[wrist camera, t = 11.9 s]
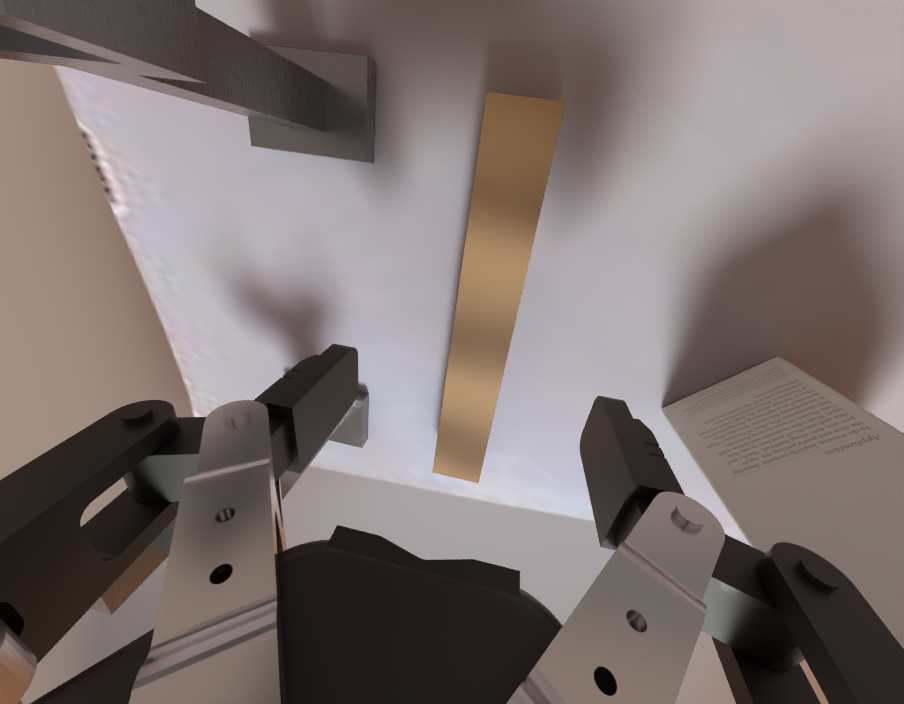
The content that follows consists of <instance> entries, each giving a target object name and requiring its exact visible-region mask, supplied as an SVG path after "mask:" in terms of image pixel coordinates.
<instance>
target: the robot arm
mask: <svg viewBox="0 0 904 704" xmlns="http://www.w3.org/2000/svg"><path fill="white" fill-rule="evenodd" d="M357 392H358V352H357V349H356V348H353V347H348V346H343V345H338V344H332V345H331V346H330V347H329V348H328V349H326V350H325V351H324V352H323V353H322V354H321V355H320V356H319V355H314V356H312V357H309V358H307V359H305V360H302V361H301V362H299V363H298V364H297V365H296V366H295V367H293V368H292V369H291V371H289V372H287V373H286V374H285V375H284V376H283V378H280V379H279V380H278V381H276V382H275V383H274V384H273V385H272V386H270V387H269V388H268V389H267V390H266V391H264V392H263V393H262V394H261V395H260V396H258V397H257V398H256V399H255V400H253V401H252V400H242V401H235V402H231V403H228V404H225V405H222V406H220V407H218V408H217V409H215V410H213V411H212V412H211V413H210V414H209V415H208V416H207V417H189V418H188V417H185V418H177V416H176V413H175V410H174V407H173V405H172V404H170V403H169V402H166V401H161V400H146V401H140V402H136V403H132V404H129V405H126V406H123V407H121V408H119V409H116V410H115V411H113V412H111V413H109V414H108V415H106V416H105V417H103V418H101V419H100V420H98V421H96V422H95V423H93V424H91V425H90V426H88V427H86V428H85V429H83V430H82V431H80V432H78V433H77V434H75V435H73V436H72V437H70V438H68V439H67V440H65V441H64V442H62V443H60V444H59V445H57V446H55V447H54V448H52V449H51V450H49V451H47V452H46V453H44V454H42V455H41V456H39V457H37V458H36V459H34V460H32V461H31V462H29V463H28V464H26V465H24V466H23V467H21V468H19V469H18V470H16V471H14V472H13V473H11V474H10V475H8V476H6V477H5V478H3V479H1V480H0V704H22V700H21V698H22V697H23V695H24V693H25V692H26V690H27V689H28V687H29V685H30V684H31V682H32V679H33V677H34V674H35V671H36V666H37V664H38V663H39V662H40V661H41V659H42V658H43V657H44V656H45V655H46V654H47V653H48V652H49V651H50V650H51V649H52V648H53V646H55V644H57V642H58V641H59V640H60V639H61V638H62V637H63V636H64V635H65V634H66V633H67V632H68V631H69V630H70V629H71V628H72V627H73V625H74V624H75V623H76V622H77V621H78V620H79V619H80V618H81V617H82V616H83V615H84V614H85V613H86V612H87V611H88V610H89V609H90V607H91V606H92V605H93V604H94V603H95V602H96V601H97V600H98V599H99V598H100V597H101V596H102V595H103V594H104V593H105V592H106V591H107V589H108V588H109V587H110V586H111V585H112V584H113V583H114V582H115V581H116V580H117V579H118V578H119V577H120V576H121V575H122V574H123V573H124V571H125V570H126V569H127V568H128V567H129V566H130V565H131V564H132V563H133V562H134V561H135V560H136V559H137V558H138V557H139V556H140V554H141V553H142V552H143V551H144V550H145V549H146V548H147V547H148V546H149V545H150V544H151V543H152V542H153V541H154V540H155V539H156V538H157V536H158V535H159V534H160V533H161V532H162V531H163V530H164V529H165V528H166V527H167V526H168V525H169V524H170V523H171V522H172V521H173V519H174V518H175V517H176V516H177V517H176V522H175V527H174V532H173V537H172V542H171V547H170V552H169V557H168V563H167V567H166V573H165V578H164V583H163V588H162V593H161V598H160V603H159V608H158V613H157V618H156V623H155V628H154V629H152V630H151V631H149V632H147V633H146V634H144V635H143V636H141V637H139V638H138V639H136V640H134V641H132V642H131V643H129V644H128V645H126V646H124V647H123V648H121V649H119V650H118V651H116V652H114V653H113V654H111V655H110V656H108V657H106V658H105V659H103V660H101V661H100V662H98V663H96V664H95V665H93V666H91V667H90V668H88V669H87V670H85V671H83V672H81V673H80V674H78V675H77V676H75V677H73V678H71V679H70V680H68V681H67V682H65V683H63V684H62V685H60V686H58V687H57V688H56V689H53V690H52V691H50V692H48V693H47V694H45V695H43V696H42V697H40V698H38V699H37V700H35V701H34V702H32V703H30V704H675V701H676V698H677V696H678V693H679V690H680V687H681V684H682V681H683V679H684V675H685V673H686V670H687V667H688V665H689V662H690V659H691V656H692V653H693V650H694V648H695V645H696V642H697V639H698V636H699V633H700V631H701V630H702V631H704V632H706V633H707V634H709V635H711V636H712V639H713V642H714V645H715V647H716V650H717V653H718V655H719V658H720V661H721V663H722V666H723V669H724V672H725V675H726V677H727V680H728V683H729V686H730V688H731V691H732V694H733V696H734V699H735V702H736V704H820V702H819V700H818V698H817V696H816V694H815V692H814V690H813V688H812V686H811V684H810V683H809V681H808V679H807V677H806V675H805V673H804V671H803V669H802V668H801V666H800V664H799V663H800V662H802V661H803V660H804V659H805V660H806V662H807V663H808V665H809V667H810V669H811V671H812V673H813V674H814V676H815V678H816V680H817V682H818V684H819V685H820V687H821V689H822V691H823V693H824V695H825V696H826V699H827V700H828V703H829V704H904V649H903V647H902V646H901V645H900V644H899V642H898V641H897V640H896V638H895V637H894V636H893V634H892V633H891V632H890V631H889V629H888V628H887V627H886V625H885V624H884V623H883V621H882V620H881V619H880V618H879V616H878V615H877V614H876V612H875V611H874V610H873V608H872V607H871V606H870V605H869V603H868V602H867V601H866V599H865V598H864V597H863V595H862V594H861V593H860V591H859V590H858V589H857V588H856V586H855V585H854V584H853V583H852V582H851V581H850V580H849V579H848V578H847V577H846V575H845V574H843V573H842V572H841V571H840V570H839V569H838V568H836V567H835V566H834V565H833V564H831V563H830V562H829V561H827V560H826V559H824V558H823V557H821V556H819V555H818V554H816V553H814V552H812V551H810V550H809V549H806V548H804V547H802V546H799V545H796V544H793V543H788V542H779V543H776V544H774V545H773V546H772V548H771V549H770V550H769V551H768V552H767V553H764V552H762V551H760V550H758V549H756V548H753V547H751V546H749V545H747V544H745V543H743V542H740V541H738V540H736V539H734V538H732V537H730V536H728V535H726V534H725V533H724V530H723V528H722V526H721V524H720V523H719V521H718V520H717V518H716V517H715V516H714V515H713V514H712V513H711V512H710V511H709V510H708V509H706V508H705V507H704V506H703V505H701V504H700V503H698V502H697V501H695V500H693V499H691V498H689V497H687V496H685V494H684V492H683V490H682V489H681V487H680V485H679V483H678V481H677V479H676V477H675V475H674V473H673V471H672V469H671V467H670V465H669V463H668V462H667V460H666V459H665V458H664V454H663V452H662V450H661V448H659V444H658V442H657V440H656V438H655V436H654V434H653V433H652V431H651V430H650V429H649V428H648V427H647V426H645V425H644V424H643V423H642V422H641V421H640V420H639V419H634V418H633V417H632V415H631V413H630V411H629V409H628V407H627V405H626V403H625V401H623V400H618V399H613V398H608V397H603V396H598V397H597V398H596V399H595V401H594V403H593V406H592V409H591V411H590V414H589V416H588V419H587V422H586V424H585V427H584V429H583V432H582V435H581V440H580V454H581V459H582V463H583V468H584V472H585V477H586V482H587V486H588V491H589V496H590V500H591V505H592V509H593V514H594V519H595V523H596V528H597V532H598V537H599V542H600V546H601V547H604V548H608V549H612V550H616V551H615V552H614V554H613V555H612V557H611V558H610V560H609V561H608V562H607V564H606V565H605V567H604V568H603V570H602V571H601V572H600V574H599V575H598V577H597V578H596V579H595V581H594V582H593V584H592V585H591V587H590V588H589V589H588V591H587V592H586V594H585V595H584V597H583V598H582V600H581V601H580V602H579V604H578V605H577V607H576V608H575V609H574V611H573V613H572V614H571V615H570V617H569V618H568V619H567V621H566V622H565V624H564V625H562V624H561V623H560V622H559V620H558V619H557V618H556V617H555V616H554V615H553V614H552V613H551V612H550V611H549V610H548V609H547V608H546V607H545V606H544V605H543V604H542V603H541V602H539V601H538V600H537V599H535V598H534V597H533V596H531V595H530V594H529V593H527V592H526V591H524V590H522V589H520V571H517V570H513V569H509V568H505V567H501V566H497V565H493V564H489V563H486V562H482V561H477V560H474V559H470V560H469V559H467V560H466V559H465V560H464V559H461V560H424V559H421V558H418V557H417V556H415V555H413V554H411V553H409V552H408V551H406V550H404V549H402V548H401V547H399V546H397V545H395V544H393V543H392V542H390V541H388V540H386V539H385V538H383V537H381V536H378V535H374V534H370V533H367V532H362V531H358V530H354V529H350V528H347V527H343V526H339V525H337V527H336V529H335V531H334V533H333V534H332V536H331V538H330V540H320V541H313V542H308V543H305V544H300V545H298V546H295V547H292V548H289V549H287V548H286V540H285V530H284V519H283V508H282V496H281V485H280V479H279V478H280V477H281V476H282V474H283V473H284V472H285V471H286V470H287V471H291V472H295V473H299V474H301V473H302V471H303V470H304V469H305V467H306V466H307V465H308V463H309V462H310V461H311V459H312V458H313V457H314V455H315V454H316V453H317V451H318V450H319V449H320V447H321V446H322V445H323V443H324V442H325V441H326V439H327V438H328V437H329V435H330V434H331V433H332V431H333V430H334V429H335V427H336V426H337V425H338V423H339V422H340V421H341V419H342V418H343V417H344V415H345V414H346V413H347V411H348V410H349V409H350V407H351V406H352V405H353V403H354V401H355V399H356V396H357ZM122 477H123V479H124V480H125V483H126V485H127V487H128V488H127V489H126V490H125V491H123V492H122V493H121V494H120V495H119V496H118V497H116V498H115V499H114V500H113V501H112V502H111V503H109V504H108V505H107V506H106V507H104V508H103V509H102V510H101V511H100V512H99V513H97V514H96V515H95V516H94V517H93V518H91V519H90V520H89V521H88V522H87V523H86V524H84V525H83V526H82V527H81V526H80V519H81V516H82V514H83V512H84V510H85V509H86V508H87V506H88V505H89V504H90V503H91V502H92V501H93V500H94V499H95V498H97V497H98V496H99V495H100V494H102V493H103V492H104V491H106V490H107V489H108V488H109V487H110V486H112V485H113V484H114V483H116V482H117V481H118V480H119V479H121V478H122Z"/></svg>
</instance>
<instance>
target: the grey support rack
mask: <svg viewBox="0 0 904 704" xmlns="http://www.w3.org/2000/svg"><path fill="white" fill-rule="evenodd" d="M0 58H2V59H11V60H18V61H27V62H35V63H43V64H52V65H59V66H66V67H69V68H73V69H77V70H80V71H84V72H88V73H91V74H95V75H99V76H102V77H106V78H109V79H113V80H117V81H120V82H124V83H128V84H131V85H135V86H139V87H142V88H146V89H150V90H153V91H157V92H161V93H164V94H168V95H172V96H175V97H179V98H183V99H186V100H190V101H193V102H197V103H201V104H204V105H208V106H212V107H215V108H219V109H223V110H226V111H230V112H234V113H237V114H241V115H245V116H248V120H249V128H250V137H251V146H256V147H262V148H268V149H275V150H282V151H290V152H297V153H304V154H311V155H318V156H325V157H332V158H339V159H346V160H353V161H361V162H368V163H374V130H375V85H376V63H375V62H373V61H372V60H371V59H370V58H369V57H368V56H362V55H353V54H344V53H334V52H325V51H316V50H306V49H297V48H288V47H278V46H269V45H262V44H260V43H259V42H257V41H255V40H253V39H252V38H250V37H248V36H246V35H244V34H243V33H241V32H239V31H237V30H236V29H234V28H232V27H230V26H229V25H227V24H225V23H223V22H222V21H220V20H218V19H216V18H215V17H213V16H211V15H209V14H207V13H206V12H204V11H202V10H200V9H199V8H197V7H196V5H195V0H0ZM368 399H369V394H368V393H363V392H357V396H356V399H355V401H354V403H353V405H352V406H351V407H350V409H349V410H348V411H347V413H346V414H345V415H344V417H343V418H342V419H341V421H340V422H339V423H338V425H337V426H336V427H335V429H334V430H333V431H332V433H331V434H330V435H329V437H328V438H327V439H326V441H325V442H324V443H323V445H322V446H321V447H320V449H319V450H318V451H317V453H316V454H315V455H314V457H313V458H312V459H311V461H310V462H309V463H308V465H307V466H306V467H305V469H304V470H303V471H302V473H303V472H304V471H305V470H306V468H307V467H308V466H309V464H310V463H311V462H312V460H313V459H314V458H315V457H316V455H317V454H318V453H319V451H320V450H321V449H322V447H323V446H324V445H325V444H326V442H327V441H328V440H331V441H335V442H339V443H344V444H348V445H352V446H357V447H361V448H362V447H363V445H364V444H365V442H366V441H367V439H368ZM302 473H301V474H299V473H295V472H291V471H287V470H286V471H285V472H284V473H283V474H282V476H281V477H280V478H279V479H280V485H281V496H282V499H283V498H284V497H285V496H286V494H287V493H288V492H289V490H290V489H291V488H292V486H293V485H294V484H295V483H296V481H297V480H298V479H299V477H300V476H301V475H302ZM176 517H177V516H176ZM176 517H175V518H174V519H173V521H172V522H171V523H170V524H169V525H168V526H167V527H166V528H165V529H164V530H163V531H162V532H161V533H160V534H159V535H158V536H157V538H156V539H155V540H154V541H153V542H152V543H151V544H150V545H149V546H148V547H147V548H146V549H145V550H144V551H143V552H142V553H141V554H140V556H139V557H138V558H137V559H136V560H135V561H134V562H133V563H132V564H131V565H130V566H129V567H128V568H127V569H126V570H125V571H124V573H123V574H122V575H121V576H120V577H119V578H118V579H117V580H116V581H115V582H114V583H113V584H112V585H111V586H110V587H109V588H108V589H107V591H106V592H105V593H104V594H103V595H102V596H101V597H100V598H99V599H98V600H97V601H96V602H95V603H94V604H93V605H92V606H91V607H90V608H91V609H94V610H97V611H101V612H104V613H107V614H111V615H112V614H113V613H114V612H115V611H116V610H117V609H118V608H119V607H120V605H122V604H123V602H124V601H125V600H126V599H127V598H128V597H129V596H130V595H131V594H132V593H133V592H134V591H135V590H136V589H137V588H138V587H139V586H140V585H141V584H142V583H143V582H144V581H145V580H146V579H147V577H148V576H150V574H151V573H152V572H153V571H154V570H155V569H156V568H157V567H158V566H159V565H160V564H161V563H162V562H163V561H164V560H165V559H166V558H167V557H168V556H169V552H170V547H171V542H172V537H173V532H174V527H175V522H176Z"/></svg>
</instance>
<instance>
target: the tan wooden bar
mask: <svg viewBox="0 0 904 704" xmlns="http://www.w3.org/2000/svg"><path fill="white" fill-rule="evenodd" d="M564 105H565V101H561V100H552V99H543V98H535V97H526V96H518V95H509V94H501V93H492V92H487V93H486V100H485V107H484V114H483V121H482V128H481V135H480V142H479V149H478V156H477V163H476V170H475V177H474V184H473V191H472V198H471V205H470V213H469V220H468V227H467V234H466V241H465V248H464V255H463V262H462V269H461V276H460V283H459V290H458V297H457V304H456V311H455V318H454V325H453V332H452V339H451V346H450V353H449V360H448V367H447V374H446V381H445V388H444V395H443V402H442V409H441V416H440V423H439V430H438V437H437V444H436V451H435V459H434V466H433V472H434V473H438V474H442V475H446V476H450V477H455V478H459V479H463V480H467V481H471V482H476V483H479V478H480V474H481V469H482V465H483V461H484V456H485V452H486V448H487V443H488V439H489V434H490V430H491V426H492V421H493V417H494V412H495V408H496V404H497V399H498V395H499V390H500V386H501V382H502V377H503V373H504V369H505V364H506V360H507V355H508V351H509V347H510V342H511V338H512V333H513V329H514V325H515V320H516V316H517V311H518V307H519V303H520V298H521V294H522V290H523V285H524V281H525V276H526V272H527V268H528V263H529V259H530V254H531V250H532V246H533V241H534V237H535V232H536V228H537V224H538V219H539V215H540V211H541V206H542V202H543V197H544V193H545V189H546V184H547V180H548V175H549V171H550V167H551V162H552V158H553V153H554V149H555V145H556V140H557V136H558V132H559V127H560V123H561V118H562V114H563V110H564Z"/></svg>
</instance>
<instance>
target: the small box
mask: <svg viewBox="0 0 904 704" xmlns="http://www.w3.org/2000/svg"><path fill="white" fill-rule="evenodd" d="M662 411H663V413H664V415H665V416H666V418H667V420H668V421H669V423H670V424H671V426H672V428H673V429H674V431H675V432H676V434H677V435H678V437H679V438H680V440H681V441H682V443H683V444H684V446H685V447H686V449H687V450H688V452H689V453H690V455H691V456H692V458H693V459H694V461H695V462H696V464H697V465H698V467H699V468H700V470H701V472H702V473H703V475H704V476H705V478H706V479H707V481H708V482H709V484H710V485H711V487H712V488H713V490H714V491H715V493H716V494H717V496H718V497H719V499H720V500H721V502H722V503H723V505H724V507H725V508H726V510H727V511H728V513H729V514H730V516H731V517H732V519H733V520H734V522H735V523H736V525H737V526H738V528H739V529H740V531H741V532H742V534H743V535H744V537H745V538H746V540H747V541H748V543H749V544H750V546H751V547H753V548H756V549H758V550H760V551H762V552H764V553H767V552H768V551H769V550H770V549H771V548H772V546H773V545H774V544H776V543H779V542H788V543H793V544H796V545H799V546H802V547H804V548H806V549H809V550H810V551H812V552H814V553H816V554H818V555H819V556H821V557H823V558H824V559H826V560H827V561H829V562H830V563H831V564H833V565H834V566H835V567H836V568H838V569H839V570H840V571H841V572H842V573H843V574H845V575H846V577H847V578H848V579H849V580H850V581H851V582H852V583H853V584H854V585H855V586H856V588H857V589H858V590H859V591H860V593H861V594H862V595H863V597H864V598H865V599H866V601H867V602H868V603H869V605H870V606H871V607H872V608H873V610H874V611H875V612H876V614H877V615H878V616H879V618H880V619H881V620H882V621H883V623H884V624H885V625H886V627H887V628H888V629H889V631H890V632H891V633H892V634H893V636H894V637H895V638H896V640H897V641H898V642H899V644H900V645H901V646H902V647H903V649H904V433H902V432H900V431H899V430H897V429H896V428H894V427H893V426H891V425H889V424H888V423H886V422H884V421H883V420H881V419H880V418H878V417H876V416H875V415H873V414H872V413H870V412H869V411H867V410H865V409H864V408H862V407H860V406H859V405H857V404H855V403H854V402H852V401H851V400H849V399H848V398H846V397H844V396H843V395H841V394H839V393H838V392H836V391H835V390H833V389H832V388H830V387H828V386H827V385H825V384H824V383H822V382H820V381H819V380H817V379H816V378H814V377H813V376H811V375H809V374H808V373H806V372H804V371H803V370H801V369H799V368H798V367H796V366H795V365H793V364H792V363H790V362H788V361H787V360H785V359H784V358H781V357H774V358H772V359H770V360H768V361H765V362H763V363H761V364H759V365H757V366H754V367H752V368H750V369H748V370H746V371H743V372H741V373H739V374H737V375H735V376H732V377H730V378H728V379H726V380H724V381H721V382H719V383H717V384H715V385H712V386H710V387H708V388H705V389H703V390H701V391H699V392H696V393H694V394H692V395H690V396H688V397H685V398H683V399H681V400H679V401H677V402H675V403H672V404H670V405H668V406H666V407H664V408H663V409H662Z"/></svg>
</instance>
